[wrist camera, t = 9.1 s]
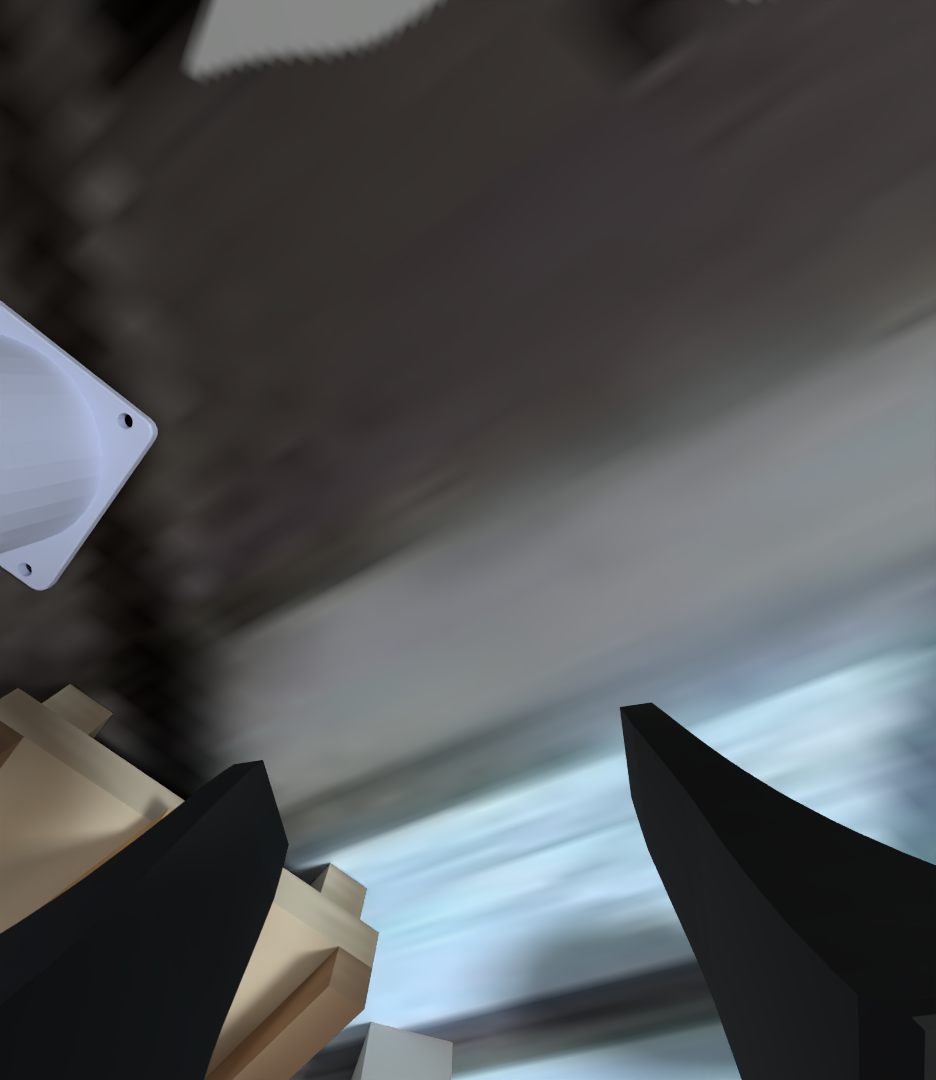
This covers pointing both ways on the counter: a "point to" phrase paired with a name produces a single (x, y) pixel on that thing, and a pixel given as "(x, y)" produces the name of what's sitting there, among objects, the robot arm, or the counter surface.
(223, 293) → the counter surface
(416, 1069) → the rubber block
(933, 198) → the counter surface
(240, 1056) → the stand
